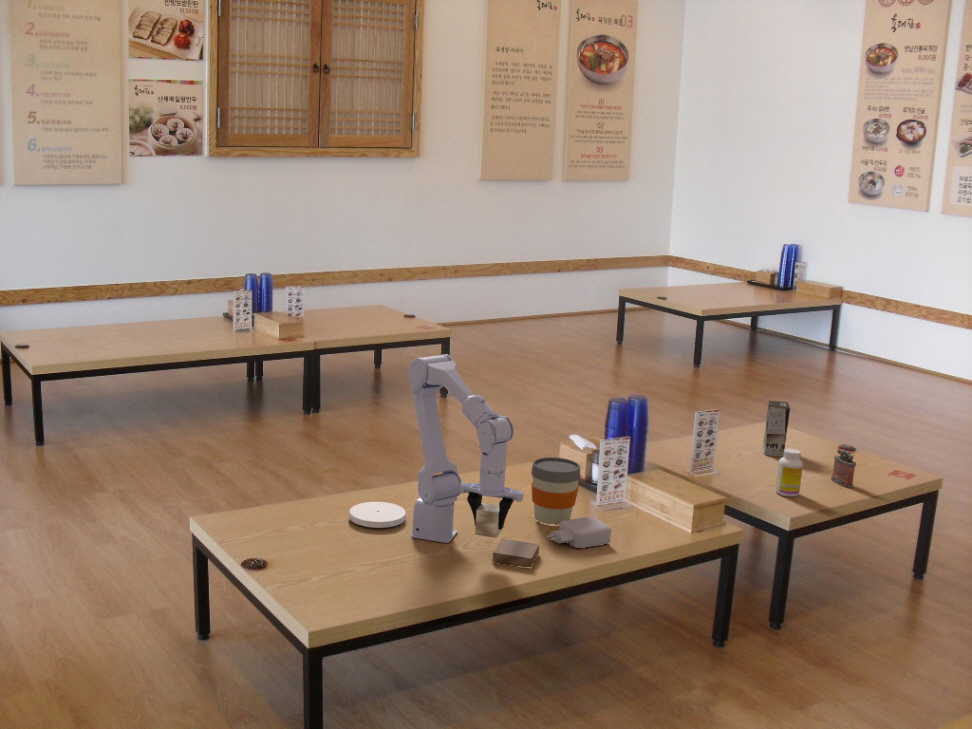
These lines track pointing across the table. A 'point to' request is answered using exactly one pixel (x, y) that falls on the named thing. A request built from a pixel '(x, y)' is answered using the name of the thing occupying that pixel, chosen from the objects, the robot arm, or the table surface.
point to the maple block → (487, 520)
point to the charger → (582, 532)
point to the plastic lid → (377, 514)
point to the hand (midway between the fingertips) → (489, 526)
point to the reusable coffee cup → (554, 488)
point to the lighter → (843, 469)
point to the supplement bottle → (789, 473)
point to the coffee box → (776, 428)
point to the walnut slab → (515, 553)
